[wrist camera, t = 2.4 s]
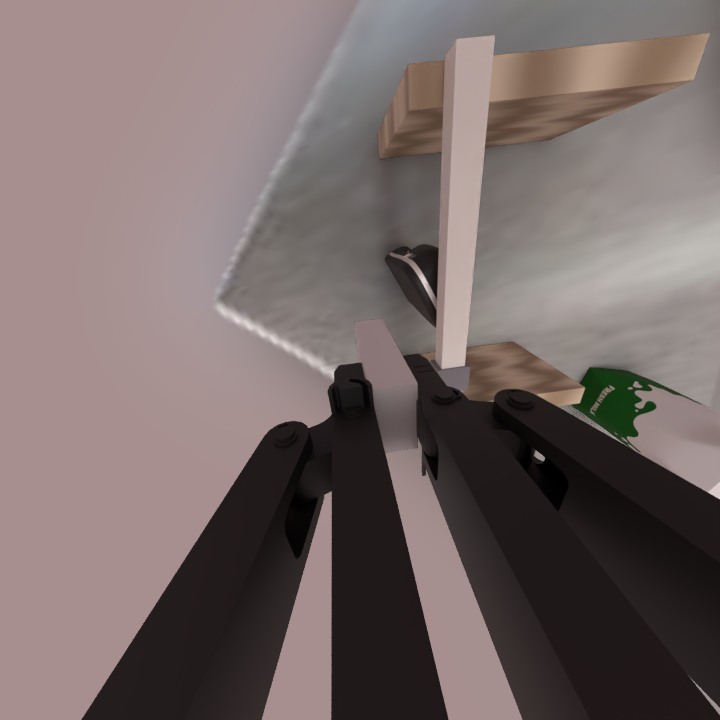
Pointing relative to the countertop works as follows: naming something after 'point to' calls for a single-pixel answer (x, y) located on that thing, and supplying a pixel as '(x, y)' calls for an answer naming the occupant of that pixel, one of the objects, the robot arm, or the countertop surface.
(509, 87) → the wooden stand
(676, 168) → the countertop surface
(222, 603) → the robot arm
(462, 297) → the pale pink long bar
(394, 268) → the battery charger
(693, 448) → the milk carton
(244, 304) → the countertop surface
